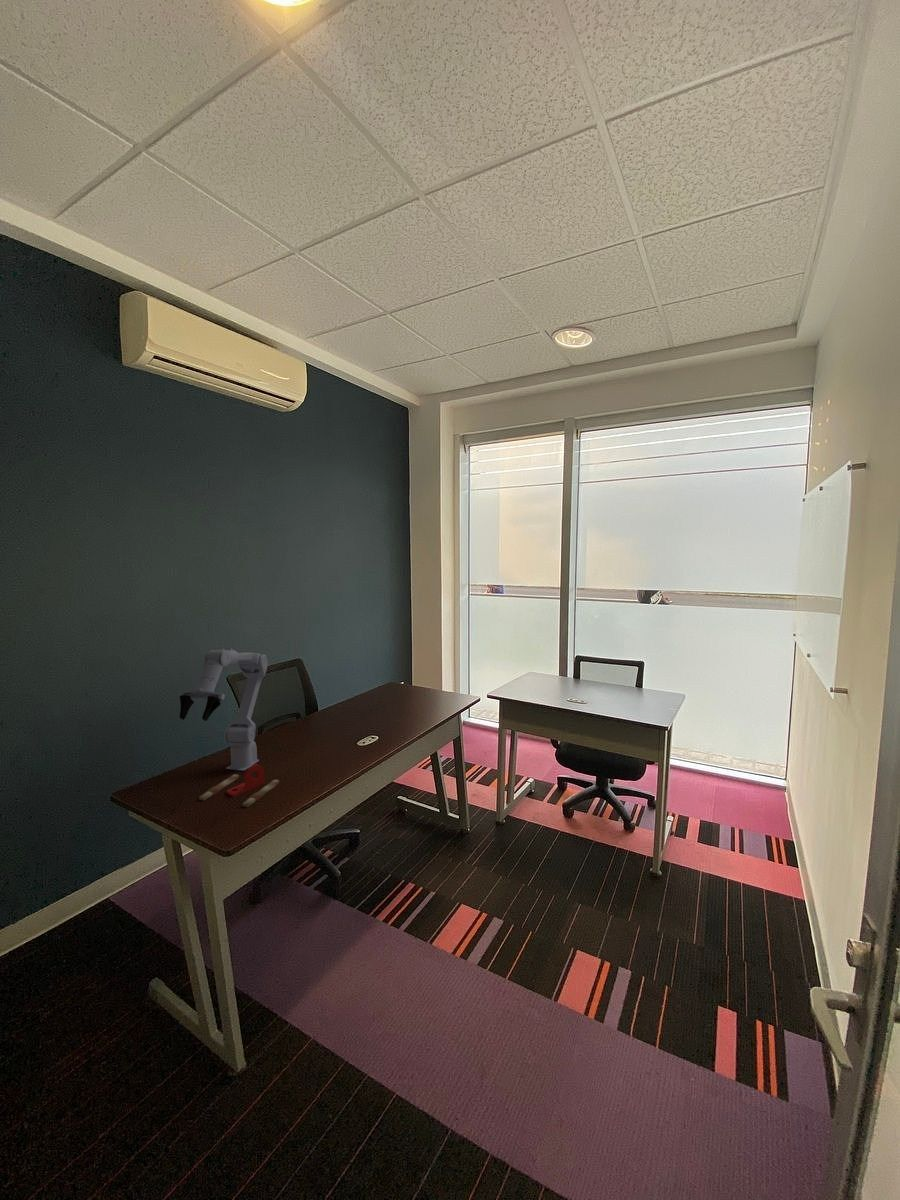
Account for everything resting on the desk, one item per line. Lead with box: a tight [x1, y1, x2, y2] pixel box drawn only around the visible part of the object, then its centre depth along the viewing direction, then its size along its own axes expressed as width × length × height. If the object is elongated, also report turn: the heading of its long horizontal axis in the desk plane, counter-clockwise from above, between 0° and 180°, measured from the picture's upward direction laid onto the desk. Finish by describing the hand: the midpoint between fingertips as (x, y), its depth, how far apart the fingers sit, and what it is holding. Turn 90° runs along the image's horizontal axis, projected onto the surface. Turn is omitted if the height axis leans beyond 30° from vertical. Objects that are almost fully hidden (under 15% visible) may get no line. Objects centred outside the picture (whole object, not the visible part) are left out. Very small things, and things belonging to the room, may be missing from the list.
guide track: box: [198, 773, 280, 808], centre depth 168 cm, size 17×19×1 cm
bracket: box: [226, 763, 265, 798], centre depth 170 cm, size 12×4×8 cm, turn 145°
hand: (193, 719), depth 158 cm, fingers open, 7 cm apart
